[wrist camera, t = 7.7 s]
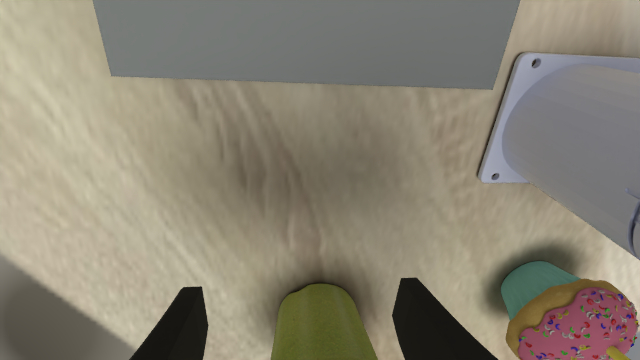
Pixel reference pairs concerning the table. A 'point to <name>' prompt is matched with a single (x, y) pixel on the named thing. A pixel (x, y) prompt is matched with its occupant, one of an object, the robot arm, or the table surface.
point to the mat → (310, 40)
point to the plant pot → (320, 327)
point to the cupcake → (566, 316)
